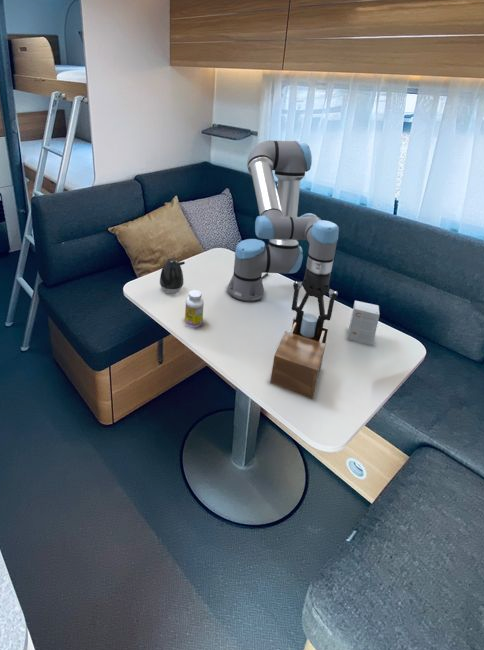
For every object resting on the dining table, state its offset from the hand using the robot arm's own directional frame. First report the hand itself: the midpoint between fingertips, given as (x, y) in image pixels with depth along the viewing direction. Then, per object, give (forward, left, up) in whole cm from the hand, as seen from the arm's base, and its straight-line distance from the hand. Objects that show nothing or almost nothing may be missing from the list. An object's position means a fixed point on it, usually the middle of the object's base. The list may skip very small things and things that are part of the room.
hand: (307, 331), depth 135 cm
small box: (-20, +16, -10) cm, 27 cm away
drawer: (-1, 0, -8) cm, 9 cm away
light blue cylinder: (0, 0, 0) cm, 0 cm away
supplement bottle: (+3, -40, -10) cm, 41 cm away
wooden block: (+12, 0, -9) cm, 15 cm away
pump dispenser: (-13, -58, -10) cm, 60 cm away
